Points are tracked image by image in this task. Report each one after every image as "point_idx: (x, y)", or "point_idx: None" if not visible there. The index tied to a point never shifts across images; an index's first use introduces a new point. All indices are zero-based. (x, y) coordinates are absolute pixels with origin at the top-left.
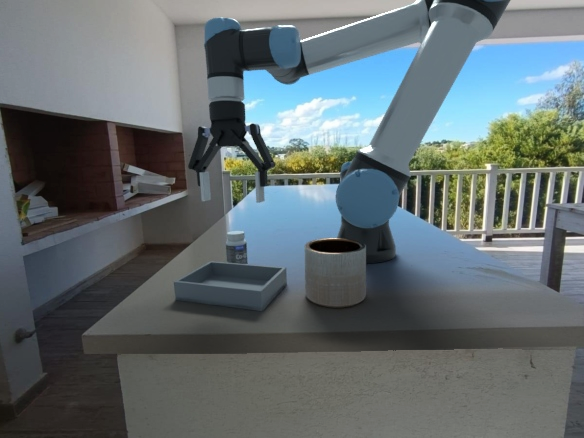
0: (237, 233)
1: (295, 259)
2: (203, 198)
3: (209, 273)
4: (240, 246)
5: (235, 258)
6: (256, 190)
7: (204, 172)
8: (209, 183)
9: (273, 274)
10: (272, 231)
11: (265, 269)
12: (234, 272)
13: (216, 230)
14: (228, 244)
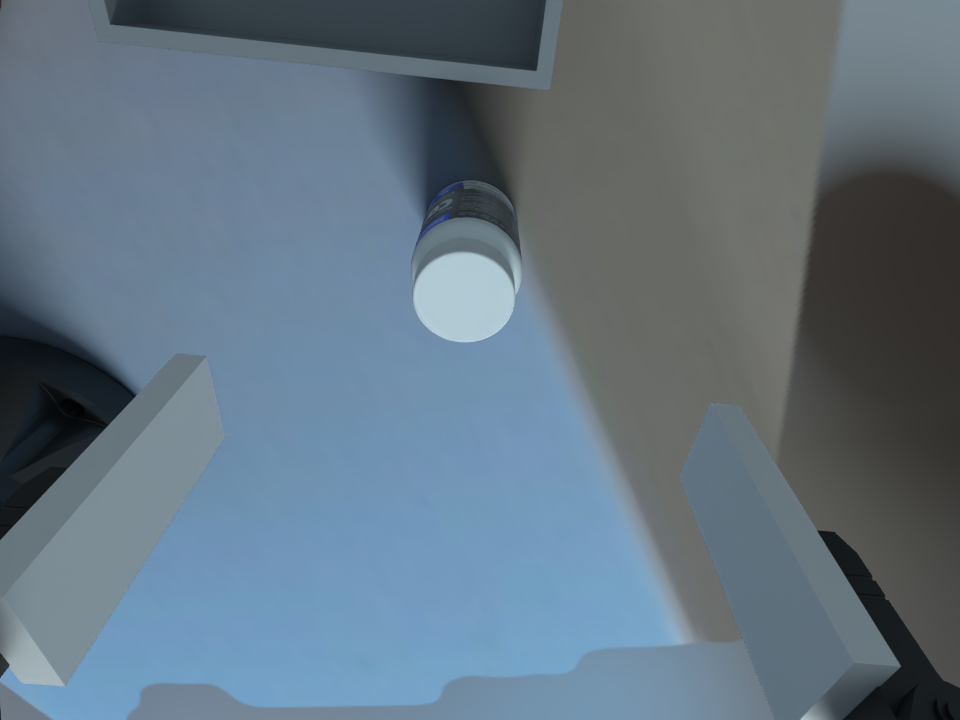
0: (440, 277)
1: (273, 351)
2: (728, 419)
3: (537, 35)
4: (425, 233)
5: (455, 198)
6: (140, 422)
7: (827, 684)
8: (730, 597)
9: (182, 29)
10: (504, 627)
11: (216, 35)
12: (404, 53)
13: (734, 629)
14: (489, 225)
